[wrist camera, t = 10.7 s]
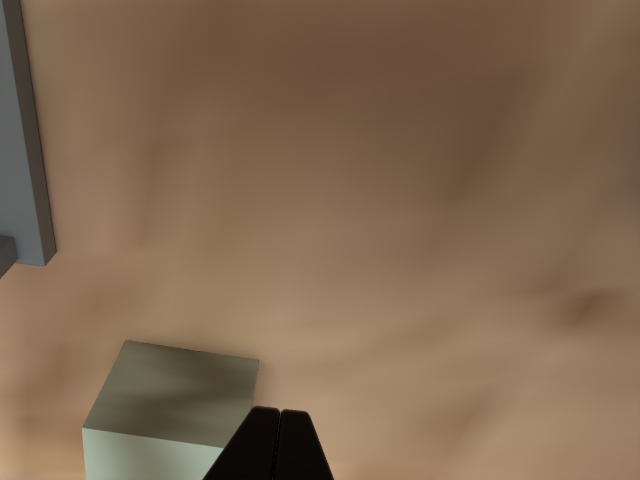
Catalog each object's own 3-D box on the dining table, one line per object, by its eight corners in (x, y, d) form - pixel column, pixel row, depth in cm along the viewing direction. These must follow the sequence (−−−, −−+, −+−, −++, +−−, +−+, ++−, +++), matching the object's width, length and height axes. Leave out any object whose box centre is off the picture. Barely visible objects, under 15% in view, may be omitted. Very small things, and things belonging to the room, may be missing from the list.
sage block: (259, 358, 26) (241, 450, 21) (246, 444, 29) (228, 540, 24) (126, 338, 25) (81, 427, 21) (128, 427, 28) (89, 521, 24)
